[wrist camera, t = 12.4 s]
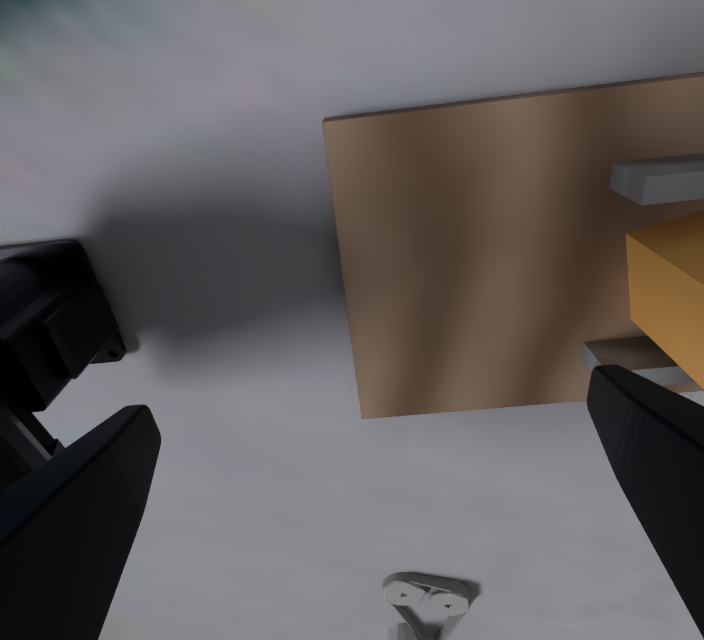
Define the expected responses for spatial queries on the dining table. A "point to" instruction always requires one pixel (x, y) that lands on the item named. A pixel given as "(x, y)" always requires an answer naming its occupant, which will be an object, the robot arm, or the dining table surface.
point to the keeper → (507, 240)
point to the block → (670, 288)
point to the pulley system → (442, 600)
